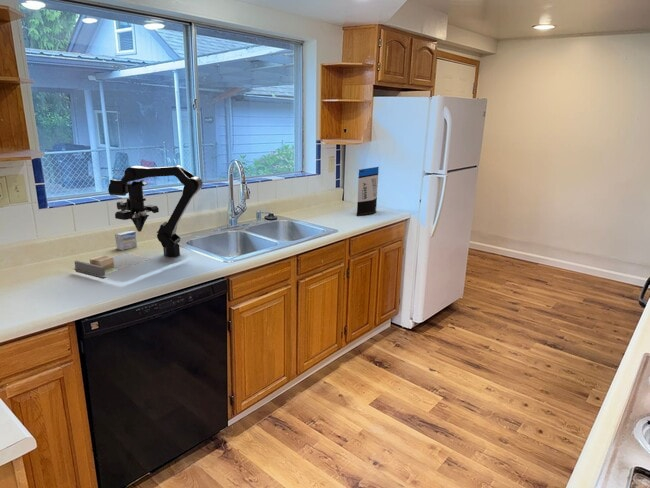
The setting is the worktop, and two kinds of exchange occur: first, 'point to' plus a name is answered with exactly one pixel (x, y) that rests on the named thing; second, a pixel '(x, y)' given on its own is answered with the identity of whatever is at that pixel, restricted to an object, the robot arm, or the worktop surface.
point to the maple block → (103, 261)
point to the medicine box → (126, 240)
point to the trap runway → (118, 261)
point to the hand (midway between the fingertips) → (139, 231)
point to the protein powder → (367, 191)
